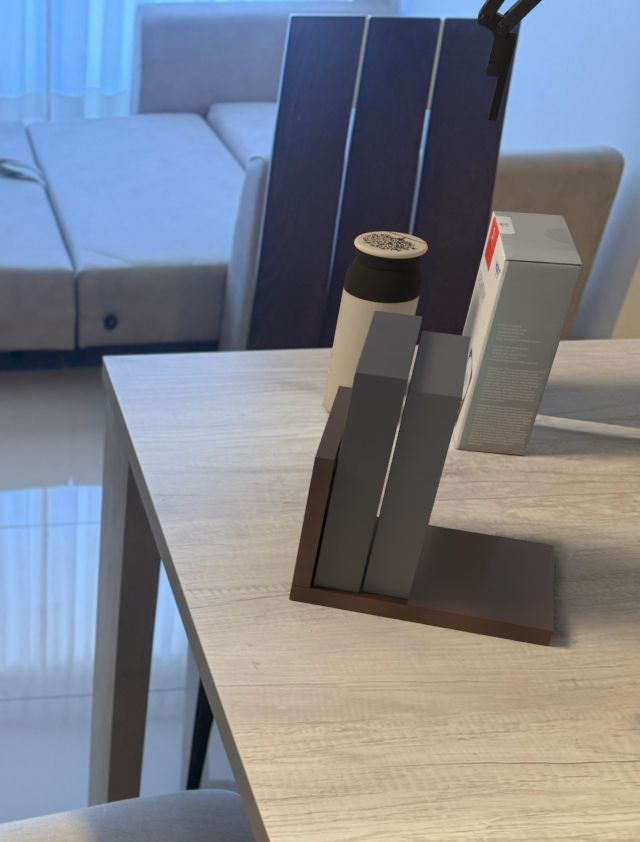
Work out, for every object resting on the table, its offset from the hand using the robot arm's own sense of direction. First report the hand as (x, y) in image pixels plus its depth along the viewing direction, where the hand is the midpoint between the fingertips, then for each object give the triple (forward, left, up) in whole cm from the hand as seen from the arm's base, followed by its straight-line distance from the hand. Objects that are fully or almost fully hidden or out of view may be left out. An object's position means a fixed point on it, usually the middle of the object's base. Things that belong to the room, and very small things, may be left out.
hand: (567, 123), depth 107 cm
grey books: (+9, +33, -29) cm, 45 cm away
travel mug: (+14, -2, -30) cm, 33 cm away
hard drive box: (0, -3, -30) cm, 31 cm away
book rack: (+4, +33, -30) cm, 45 cm away
